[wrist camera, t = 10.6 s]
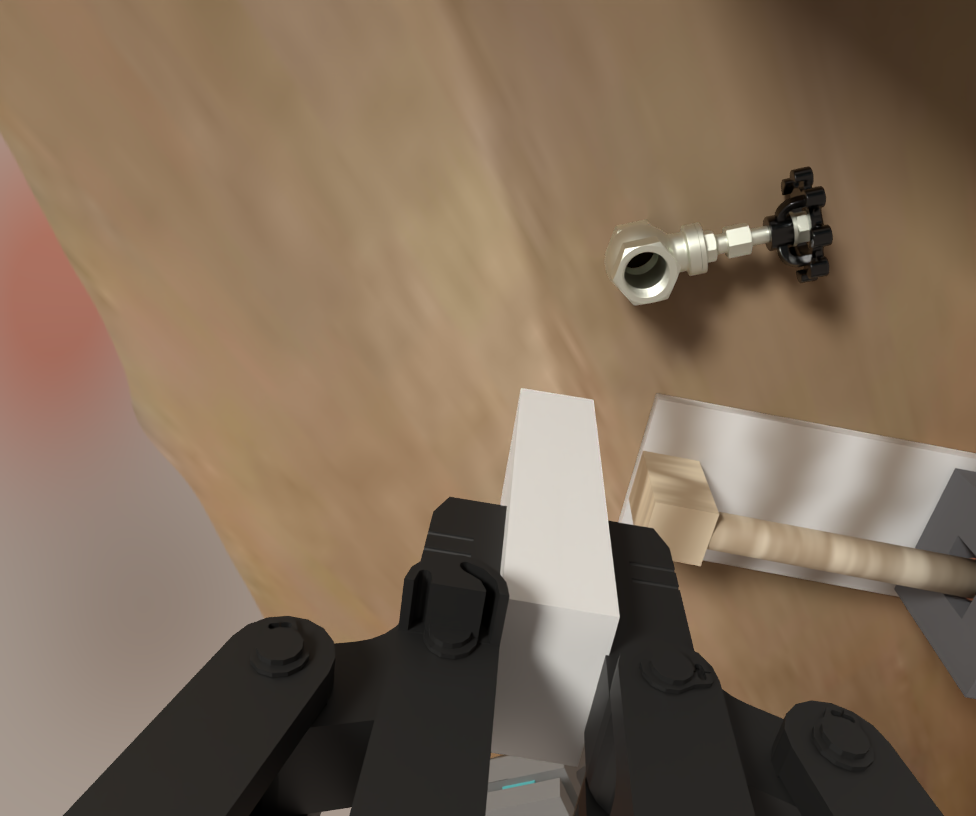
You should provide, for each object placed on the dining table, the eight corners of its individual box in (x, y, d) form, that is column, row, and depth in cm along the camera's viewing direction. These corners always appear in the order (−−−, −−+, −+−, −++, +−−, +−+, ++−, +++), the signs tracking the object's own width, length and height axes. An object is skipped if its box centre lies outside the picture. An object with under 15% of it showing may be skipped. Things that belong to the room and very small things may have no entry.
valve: (610, 303, 49) (799, 265, 48) (618, 337, 43) (835, 295, 42) (592, 203, 47) (792, 159, 45) (599, 224, 41) (830, 174, 39)
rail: (614, 536, 57) (623, 604, 50) (656, 393, 52) (673, 446, 45) (1028, 613, 57) (1097, 692, 50) (1111, 479, 52) (1201, 545, 45)
